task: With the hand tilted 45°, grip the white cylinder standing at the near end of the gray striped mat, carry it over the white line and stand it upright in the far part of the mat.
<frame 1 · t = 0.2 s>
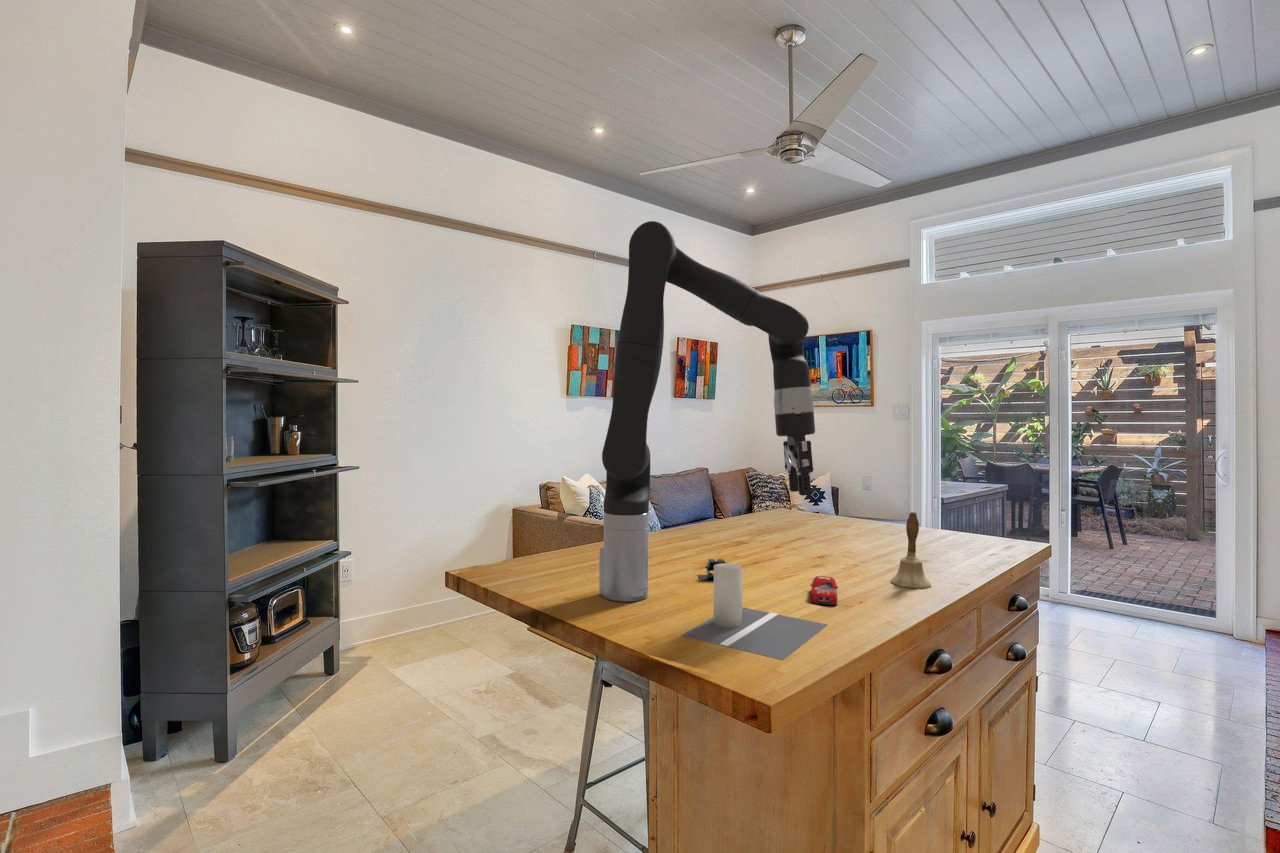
hand: (800, 493, 123), 22 cm above the table, tool pointing down, fingers open, 8 cm apart
hand bell: (910, 584, 139), on the table
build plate: (716, 581, 143), on the table
gray striped mat: (756, 632, 107), on the table
white cylinder: (727, 623, 110), resting on gray striped mat
race car: (823, 599, 128), on the table
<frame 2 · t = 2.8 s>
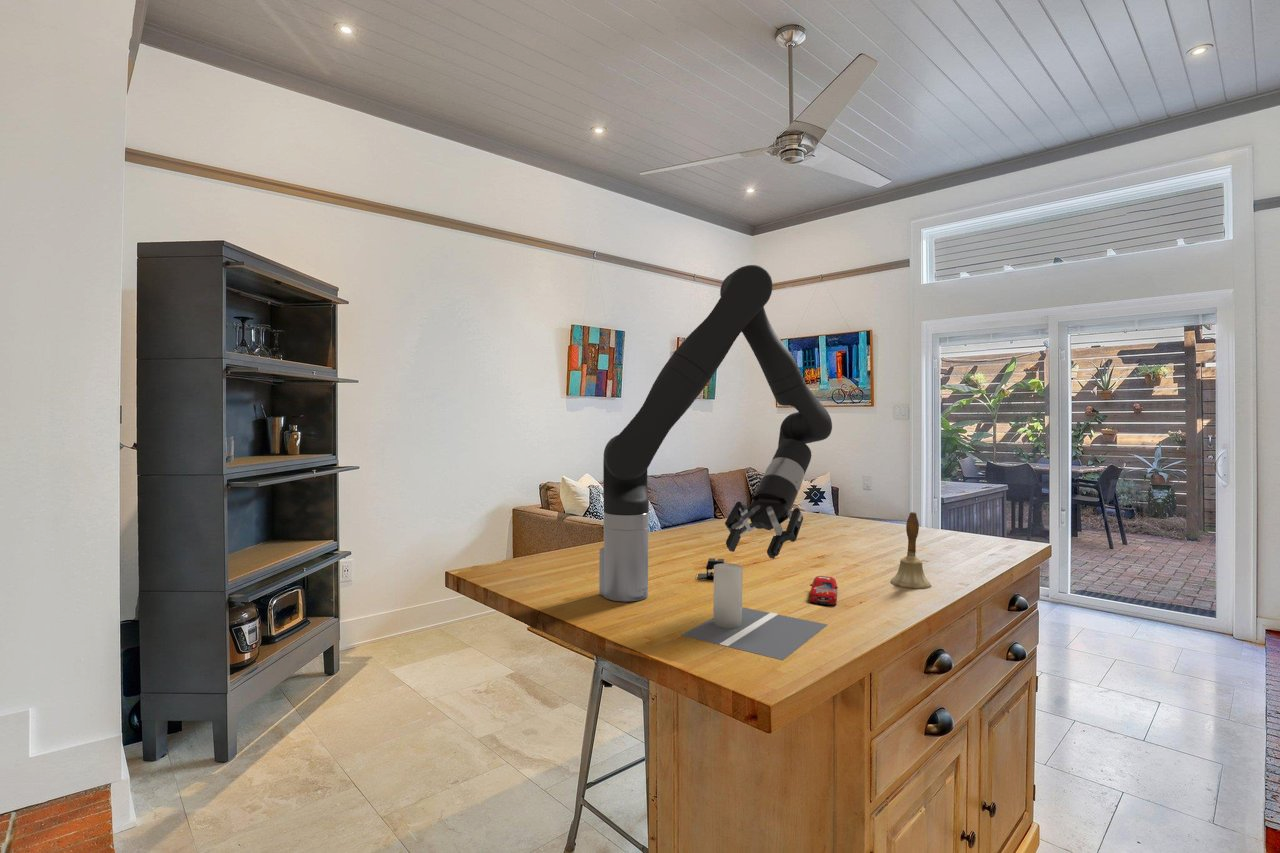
hand: (749, 552, 115), 12 cm above the table, tool tilted 45°, fingers open, 8 cm apart
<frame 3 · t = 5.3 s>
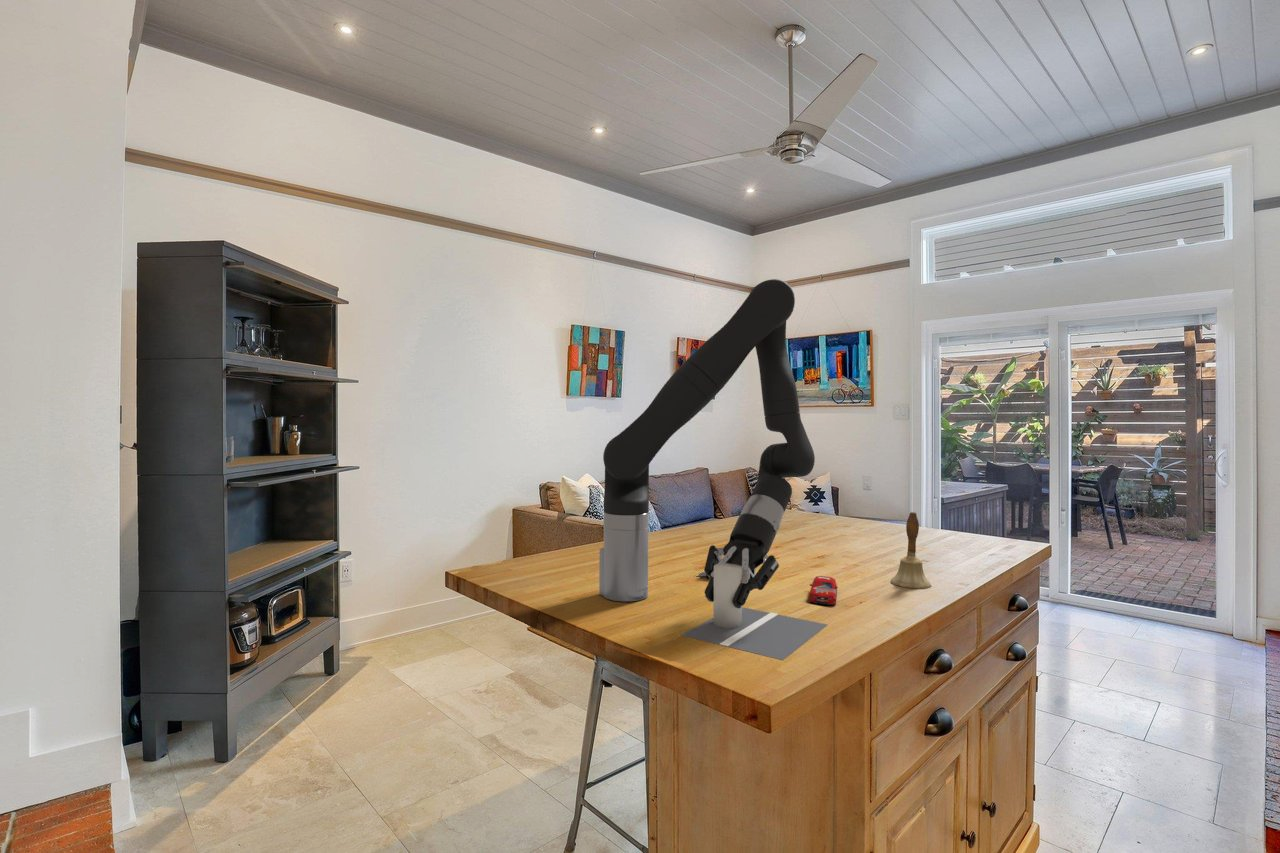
hand: (722, 602, 108), 5 cm above the table, tool tilted 45°, fingers closed on white cylinder, 5 cm apart
white cylinder: (727, 623, 110), point 1 cm above the table, touching gripper, gray striped mat
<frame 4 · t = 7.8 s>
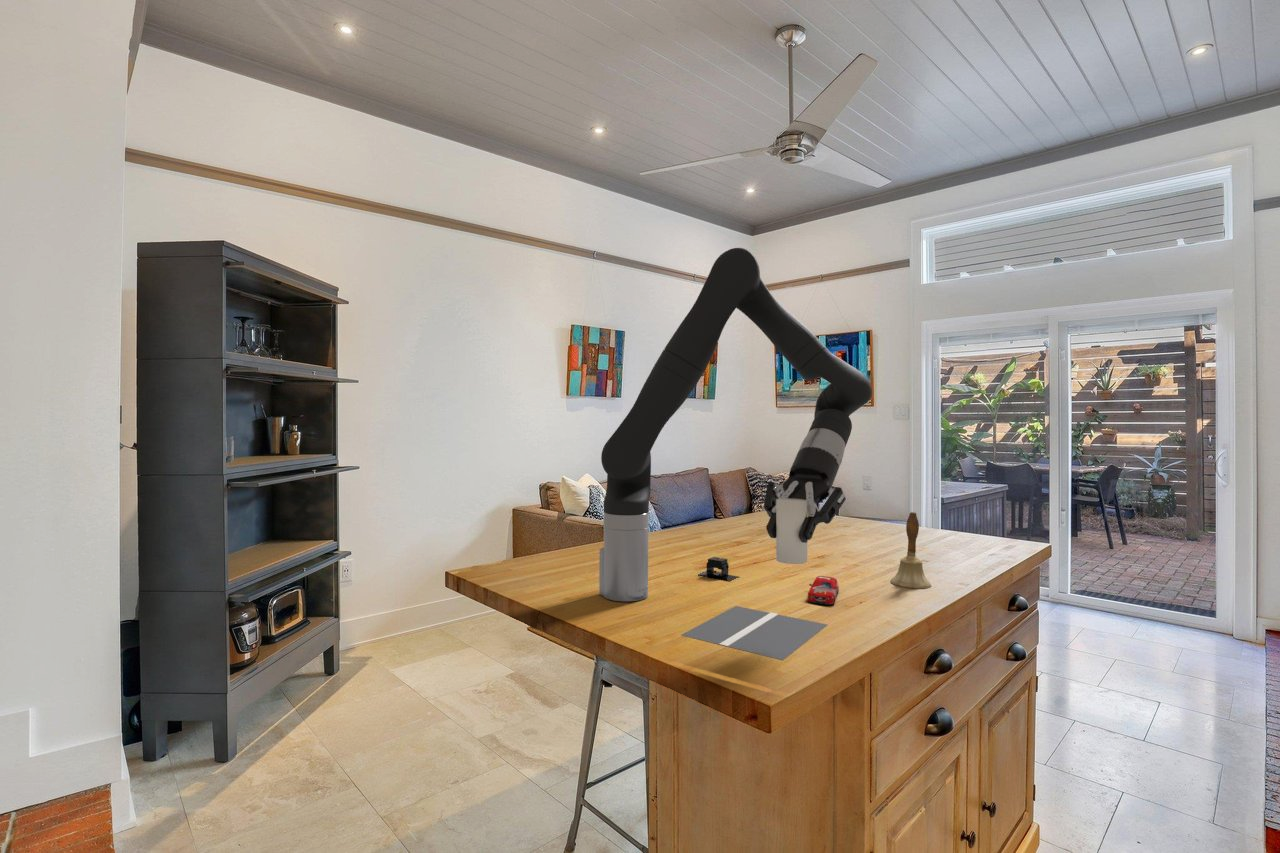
hand: (786, 537, 102), 17 cm above the table, tool tilted 45°, fingers closed on white cylinder, 5 cm apart
white cylinder: (791, 560, 103), point 13 cm above the table, touching gripper
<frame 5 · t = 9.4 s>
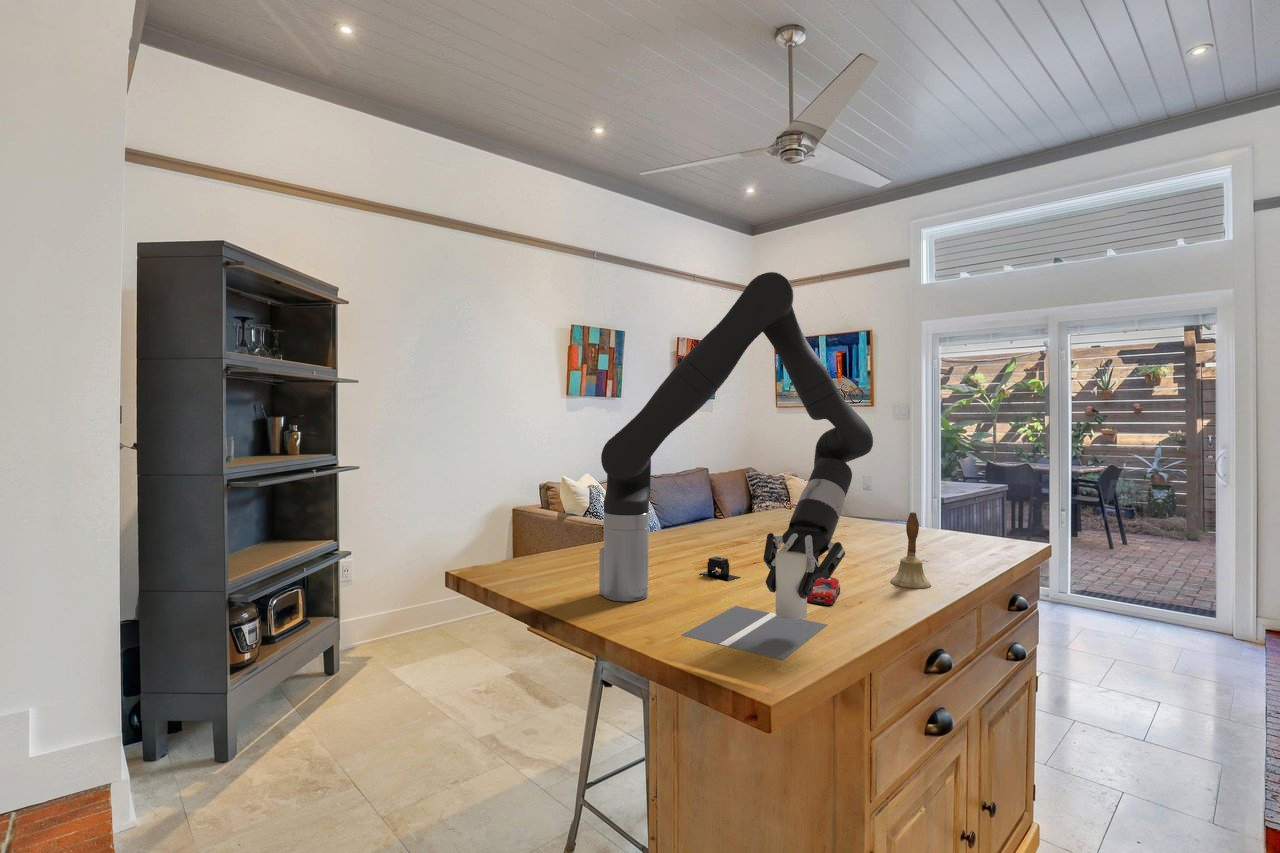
hand: (786, 592, 102), 8 cm above the table, tool tilted 45°, fingers closed on white cylinder, 5 cm apart
white cylinder: (791, 614, 103), point 4 cm above the table, touching gripper
when the fingers open (6 cm above the table, at t = 10.3 s): white cylinder drops 1 cm, resting on gray striped mat.
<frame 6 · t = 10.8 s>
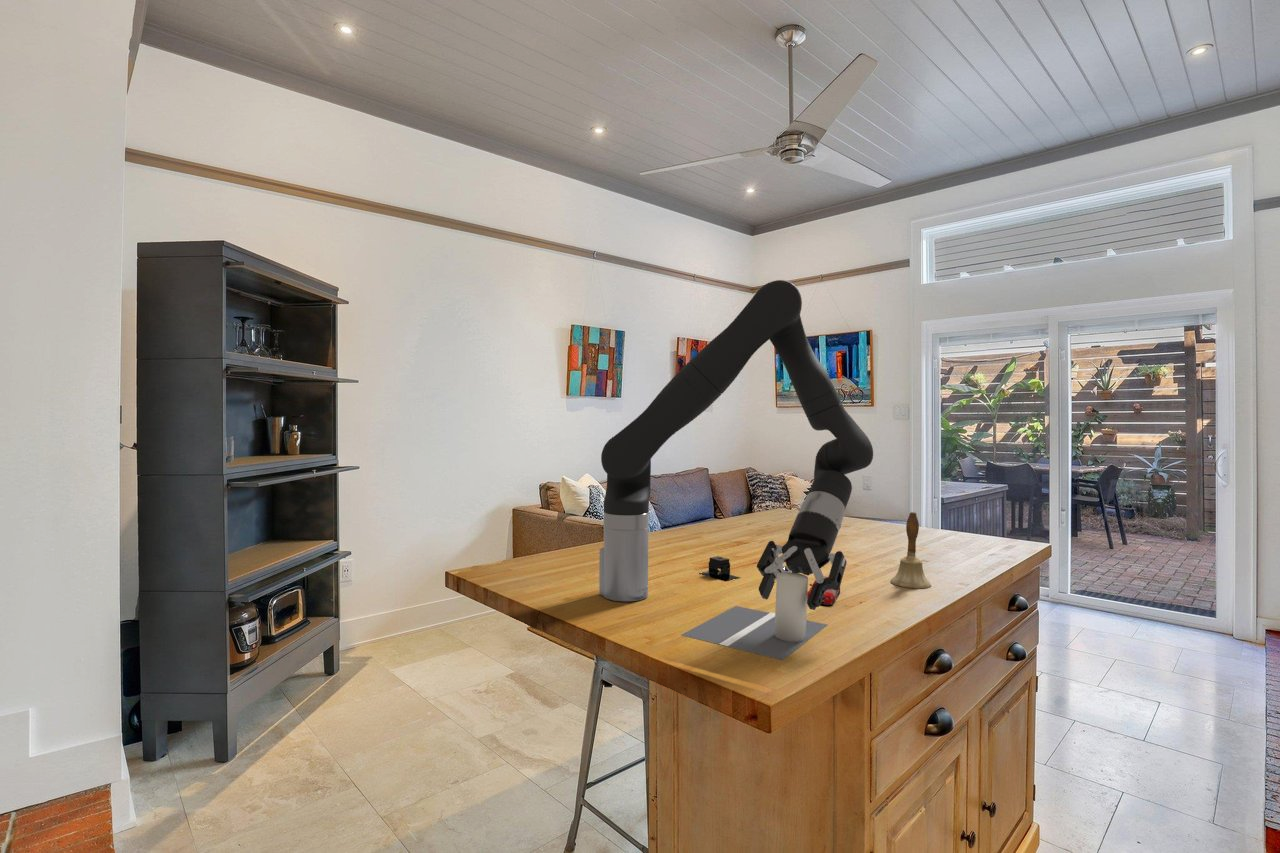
hand: (786, 601, 102), 7 cm above the table, tool tilted 45°, fingers open, 8 cm apart
white cylinder: (789, 636, 103), point 1 cm above the table, touching gray striped mat
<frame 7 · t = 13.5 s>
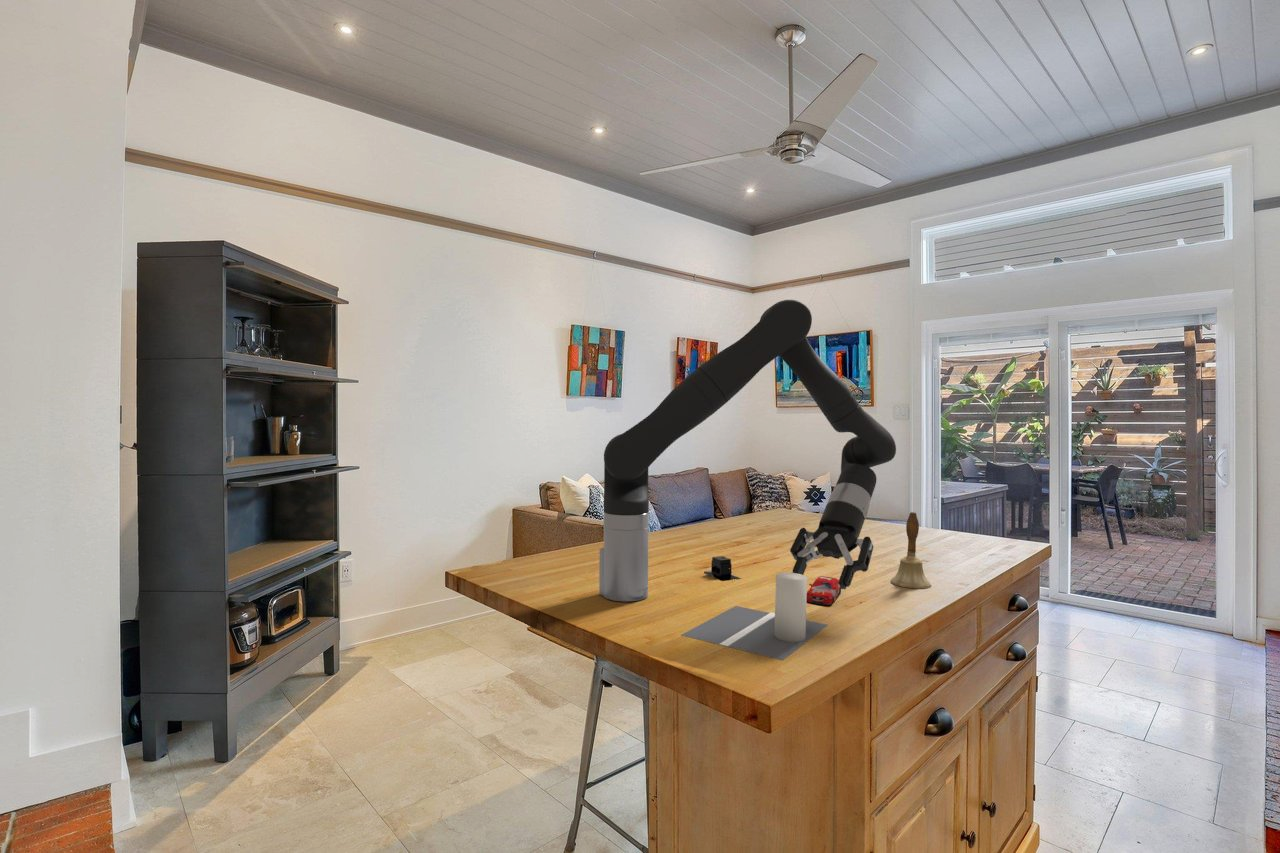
hand: (818, 582, 112), 7 cm above the table, tool tilted 45°, fingers open, 8 cm apart
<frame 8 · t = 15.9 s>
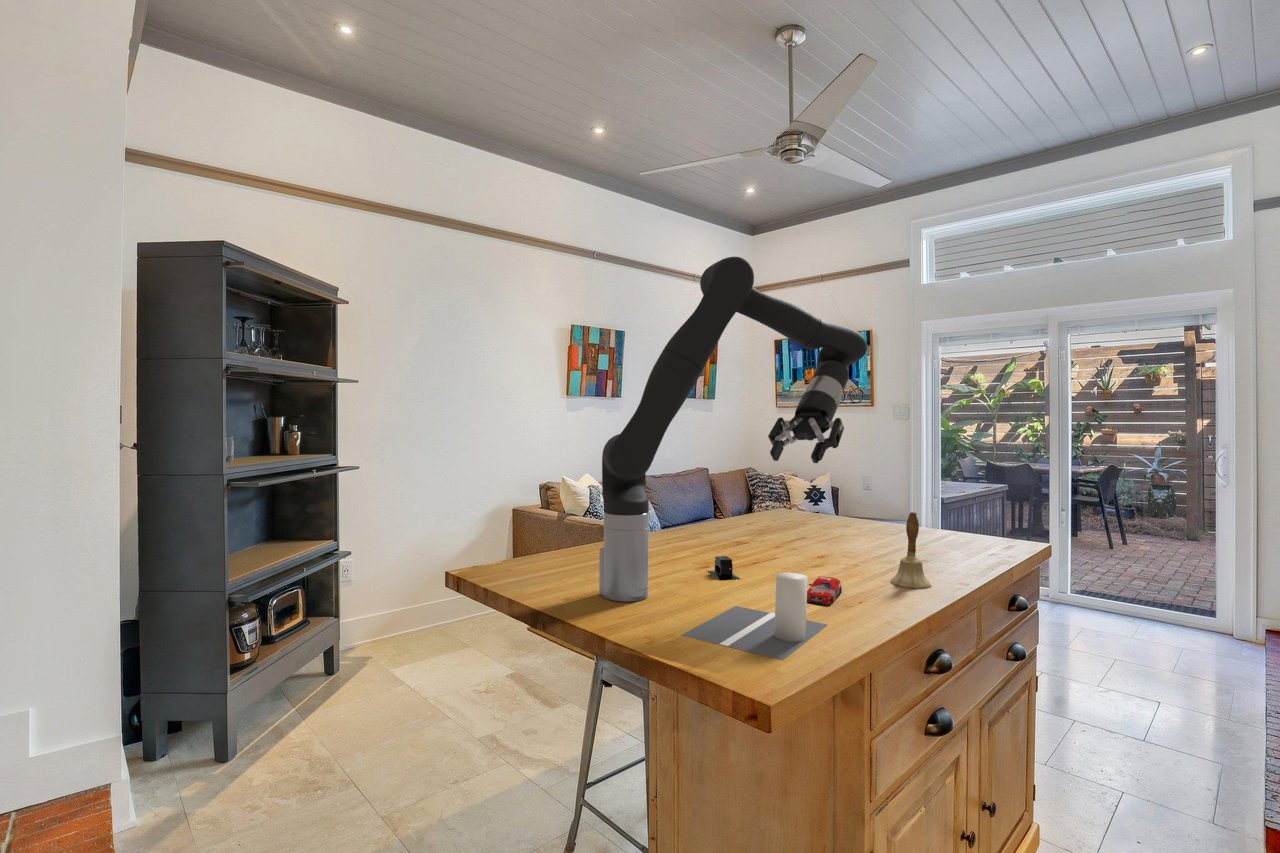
hand: (793, 459, 122), 29 cm above the table, tool tilted 45°, fingers open, 8 cm apart
at the end: white cylinder inside the target area (0.3 cm from its centre), point 0.6 cm above the table; white cylinder tilted 1°; the gripper is holding nothing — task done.
